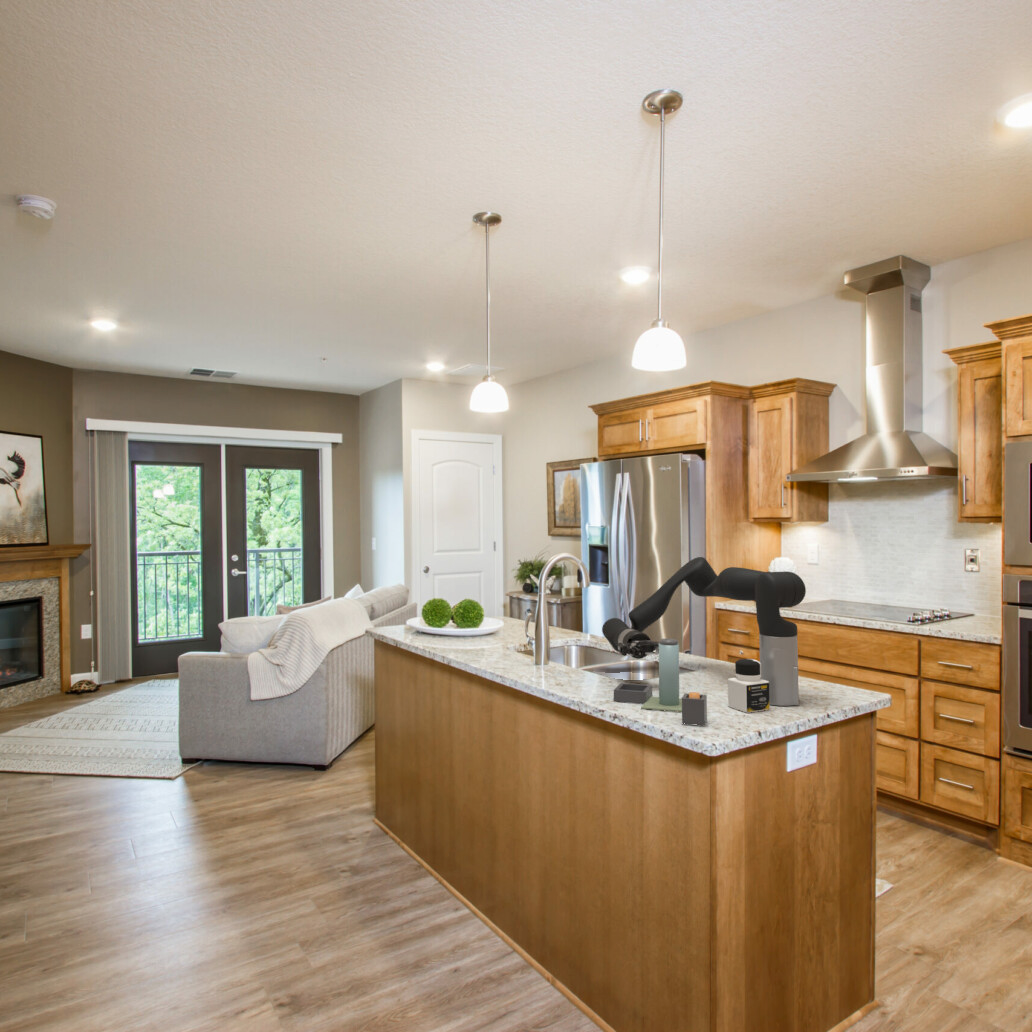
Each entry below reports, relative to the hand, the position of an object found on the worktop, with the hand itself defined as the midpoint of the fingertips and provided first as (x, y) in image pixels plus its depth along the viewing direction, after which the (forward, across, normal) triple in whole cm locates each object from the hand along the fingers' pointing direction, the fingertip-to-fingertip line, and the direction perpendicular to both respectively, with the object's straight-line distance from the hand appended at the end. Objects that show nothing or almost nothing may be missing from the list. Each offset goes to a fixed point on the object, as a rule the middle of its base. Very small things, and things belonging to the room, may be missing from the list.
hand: (653, 652), depth 196 cm
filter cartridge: (+11, 0, -11) cm, 15 cm away
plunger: (+27, 0, -10) cm, 29 cm away
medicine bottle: (+18, -18, -12) cm, 28 cm away
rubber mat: (+11, 0, -11) cm, 16 cm away
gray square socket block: (+27, 0, -12) cm, 29 cm away
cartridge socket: (+3, +7, -11) cm, 13 cm away
